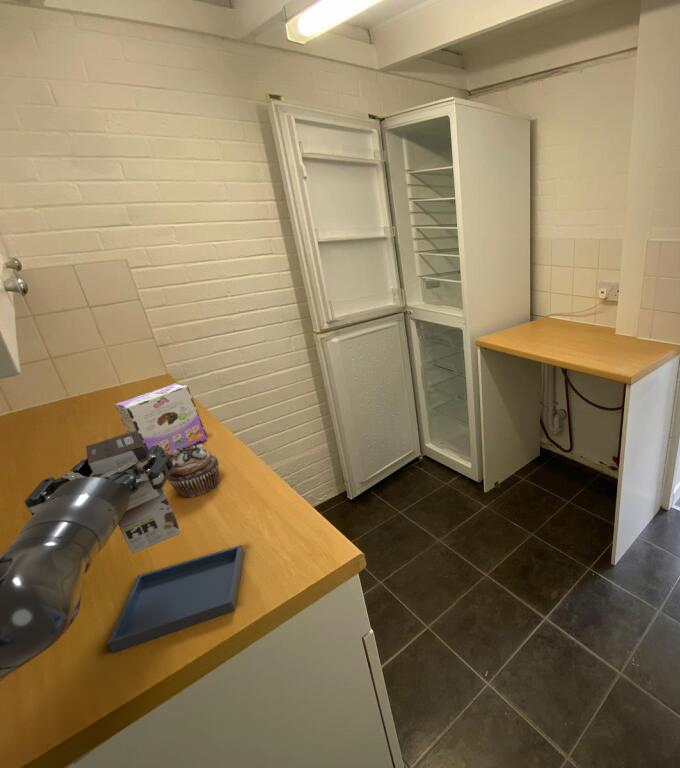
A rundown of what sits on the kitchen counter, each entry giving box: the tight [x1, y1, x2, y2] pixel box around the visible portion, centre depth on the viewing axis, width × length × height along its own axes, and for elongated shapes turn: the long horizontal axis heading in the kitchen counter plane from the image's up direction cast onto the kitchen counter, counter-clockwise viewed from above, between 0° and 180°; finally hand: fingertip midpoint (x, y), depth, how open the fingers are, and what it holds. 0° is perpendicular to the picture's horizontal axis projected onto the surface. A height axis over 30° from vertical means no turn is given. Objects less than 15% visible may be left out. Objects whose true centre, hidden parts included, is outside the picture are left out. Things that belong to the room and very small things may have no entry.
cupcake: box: [166, 443, 221, 499], centre depth 94 cm, size 10×10×10 cm
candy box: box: [114, 382, 209, 458], centre depth 108 cm, size 14×6×16 cm, turn 155°
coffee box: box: [85, 431, 181, 554], centre depth 66 cm, size 9×6×16 cm
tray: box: [107, 544, 245, 653], centre depth 68 cm, size 15×13×2 cm
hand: (124, 457), depth 64 cm, fingers closed on coffee box, 8 cm apart
